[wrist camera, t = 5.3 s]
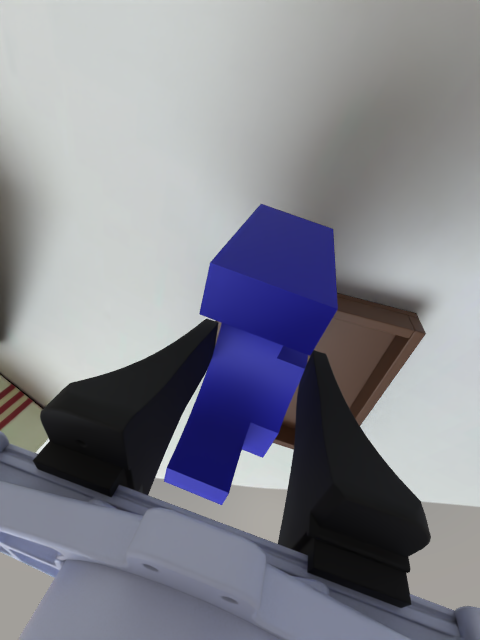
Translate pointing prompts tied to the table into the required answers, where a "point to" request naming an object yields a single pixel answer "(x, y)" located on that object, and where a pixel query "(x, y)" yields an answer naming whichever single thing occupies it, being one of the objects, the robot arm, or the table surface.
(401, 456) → the table surface
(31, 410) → the gift box
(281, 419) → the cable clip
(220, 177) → the table surface
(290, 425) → the tray
